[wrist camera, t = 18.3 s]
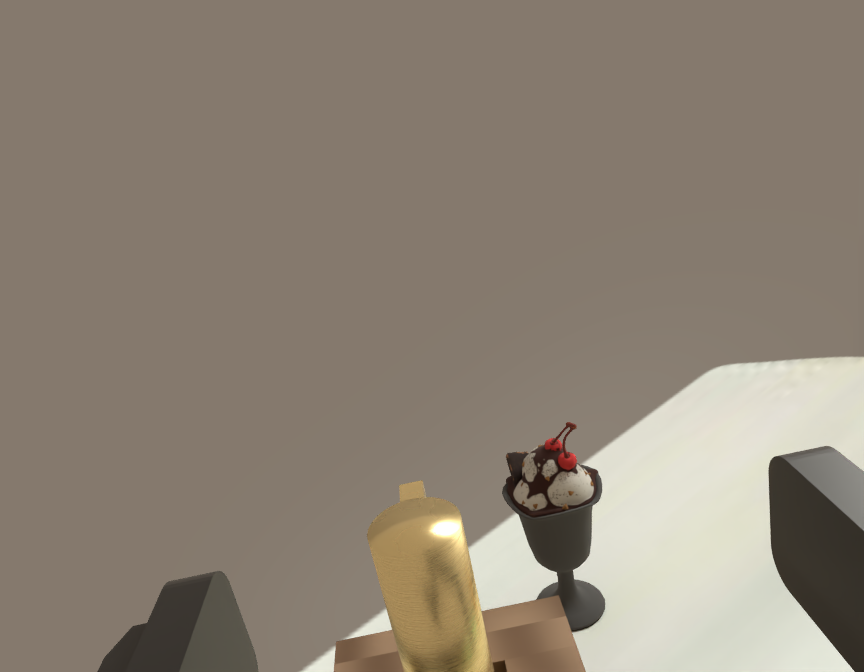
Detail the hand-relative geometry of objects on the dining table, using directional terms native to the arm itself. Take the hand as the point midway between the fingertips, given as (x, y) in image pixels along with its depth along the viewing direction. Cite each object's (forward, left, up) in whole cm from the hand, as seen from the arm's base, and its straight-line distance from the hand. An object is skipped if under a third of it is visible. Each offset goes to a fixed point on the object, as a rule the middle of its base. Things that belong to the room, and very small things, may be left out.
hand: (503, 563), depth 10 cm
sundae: (-5, -32, -30) cm, 44 cm away
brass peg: (+3, -19, -30) cm, 36 cm away
